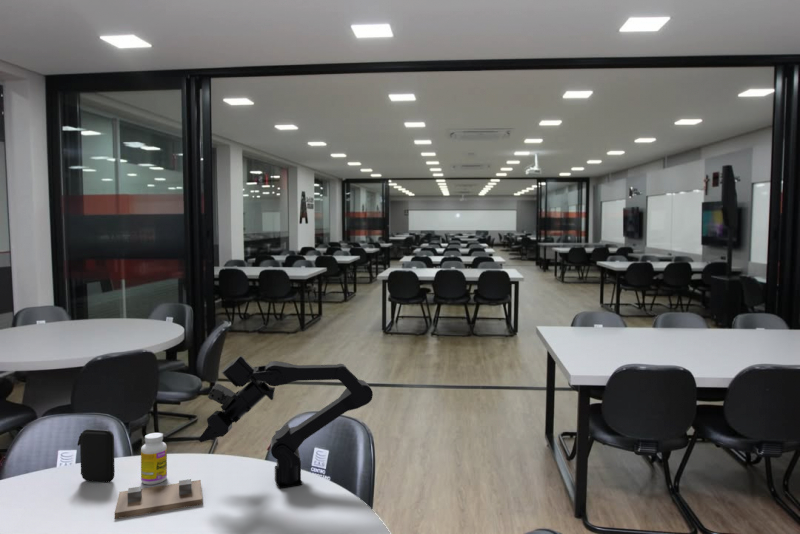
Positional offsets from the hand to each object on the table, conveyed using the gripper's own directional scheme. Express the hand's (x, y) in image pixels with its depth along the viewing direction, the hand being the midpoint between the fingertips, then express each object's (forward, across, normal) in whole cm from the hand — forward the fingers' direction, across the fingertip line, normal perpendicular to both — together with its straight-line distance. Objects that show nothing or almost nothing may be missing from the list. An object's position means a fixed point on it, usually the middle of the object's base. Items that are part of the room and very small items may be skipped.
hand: (205, 434), depth 149 cm
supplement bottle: (+21, -3, 0) cm, 22 cm away
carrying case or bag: (+33, -2, -10) cm, 35 cm away
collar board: (+16, +9, +5) cm, 19 cm away
